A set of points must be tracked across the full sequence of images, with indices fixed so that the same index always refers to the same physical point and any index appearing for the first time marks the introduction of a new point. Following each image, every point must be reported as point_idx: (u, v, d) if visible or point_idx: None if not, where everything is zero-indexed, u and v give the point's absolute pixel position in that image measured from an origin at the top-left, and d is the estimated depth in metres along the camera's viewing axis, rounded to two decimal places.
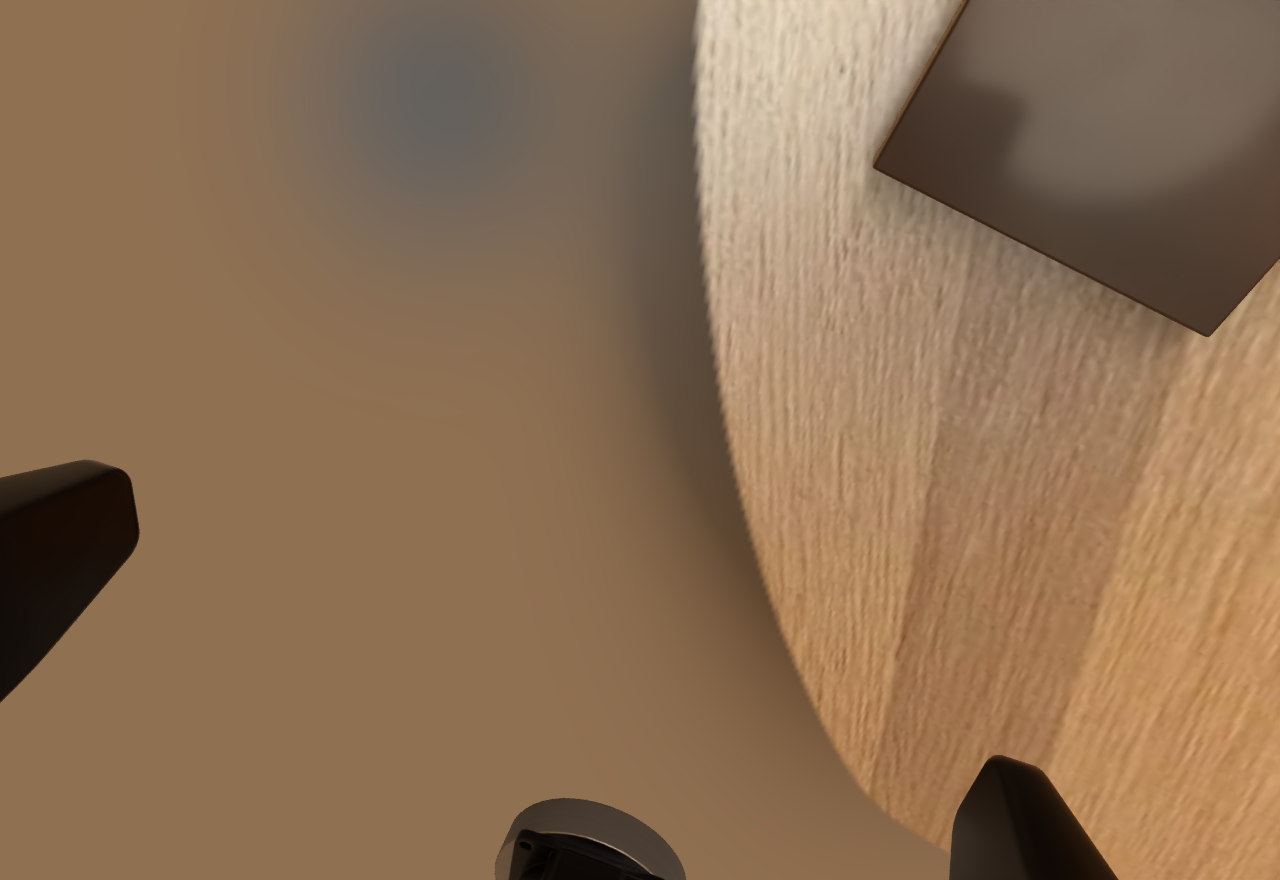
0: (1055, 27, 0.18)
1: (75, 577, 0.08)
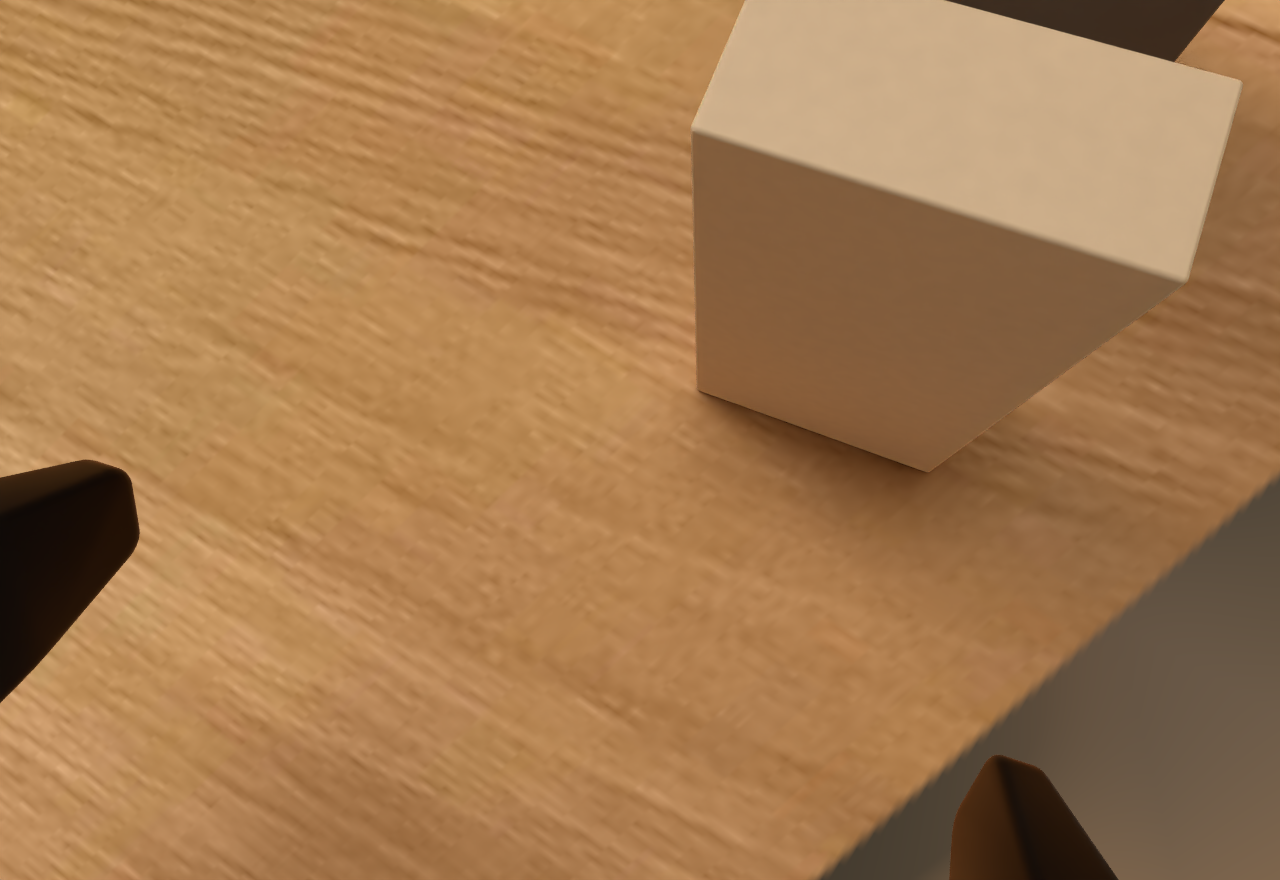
0: None
1: (75, 577, 0.08)
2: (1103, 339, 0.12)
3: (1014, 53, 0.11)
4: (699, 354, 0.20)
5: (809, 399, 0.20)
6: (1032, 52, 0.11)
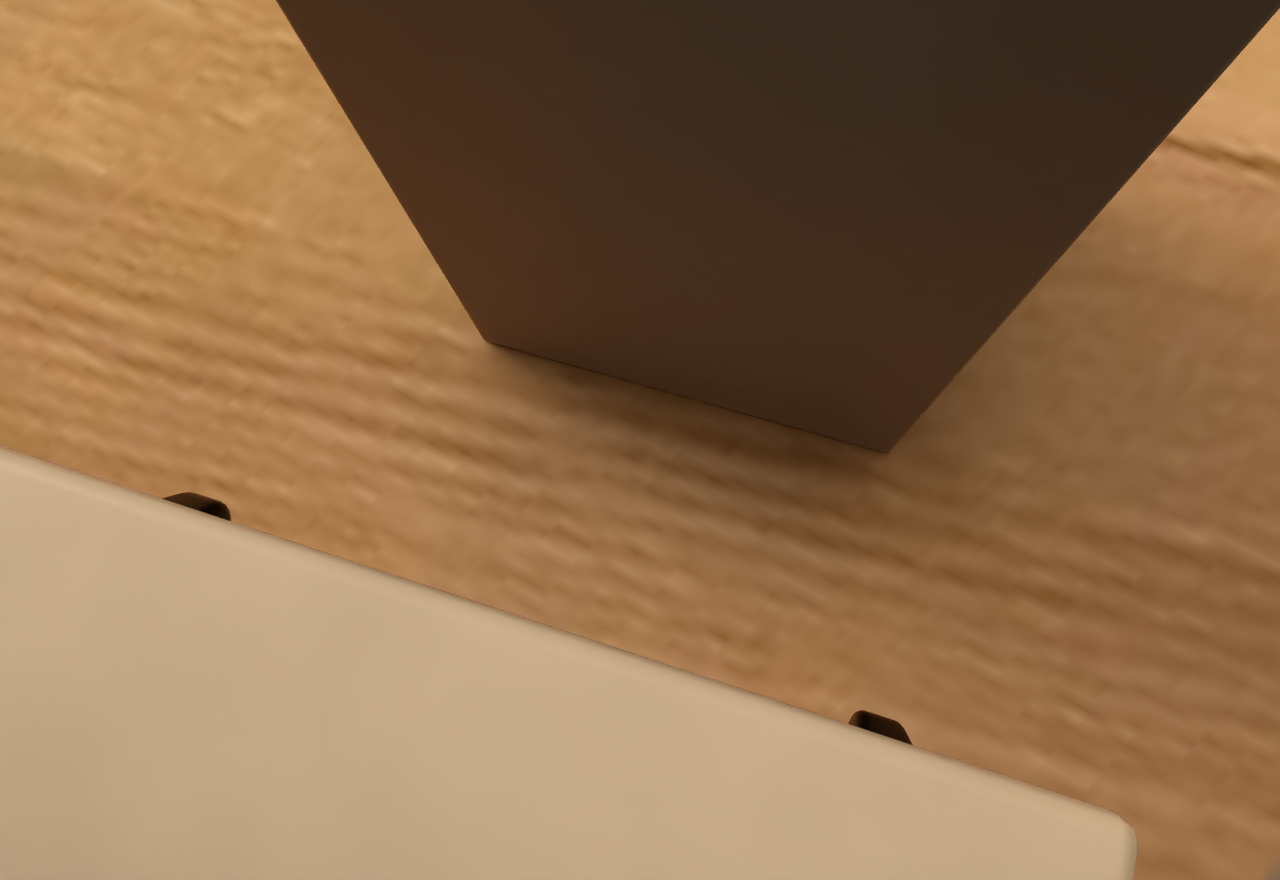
0: None
1: None
2: None
3: (283, 714, 0.03)
4: None
5: None
6: (345, 711, 0.03)
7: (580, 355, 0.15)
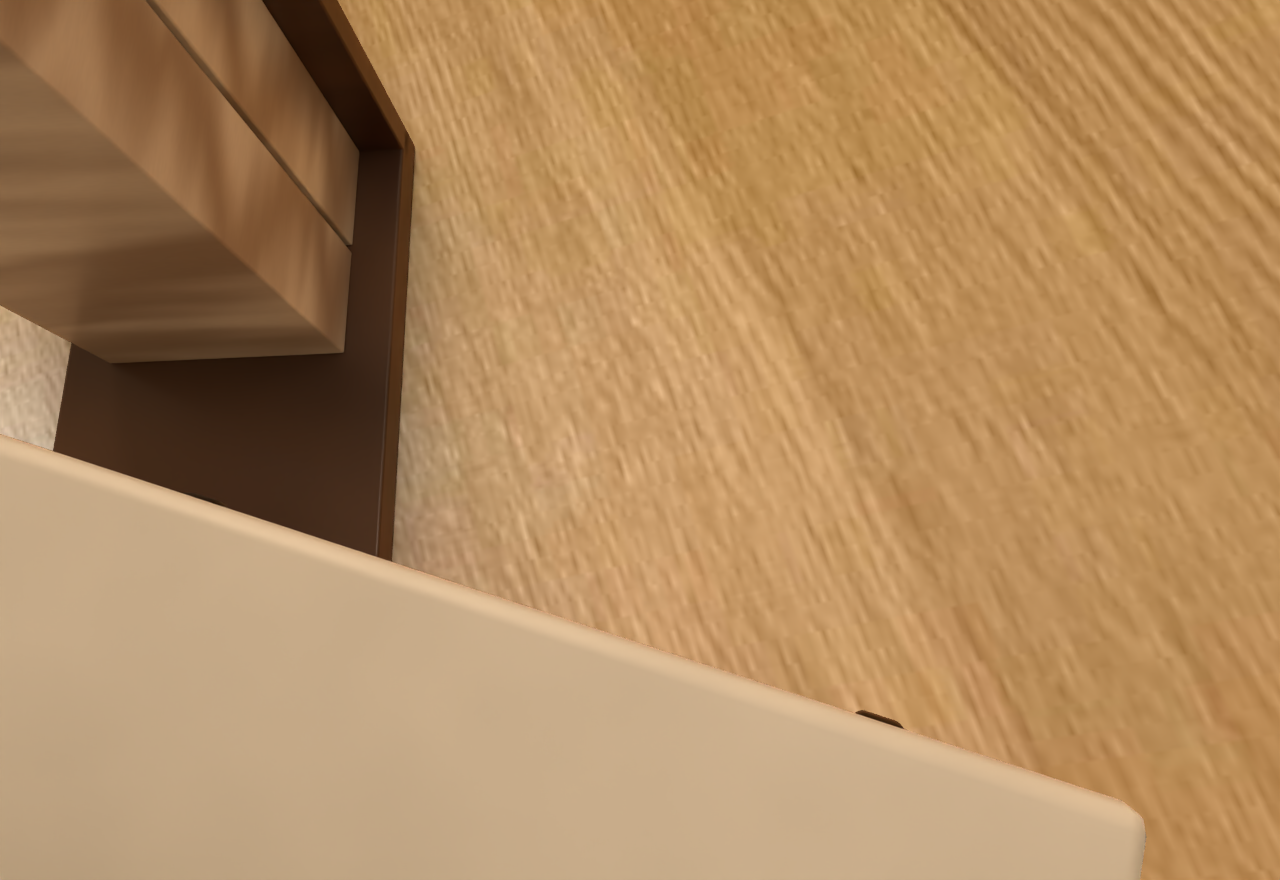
0: None
1: None
2: None
3: (292, 702, 0.03)
4: None
5: None
6: (355, 698, 0.03)
7: None
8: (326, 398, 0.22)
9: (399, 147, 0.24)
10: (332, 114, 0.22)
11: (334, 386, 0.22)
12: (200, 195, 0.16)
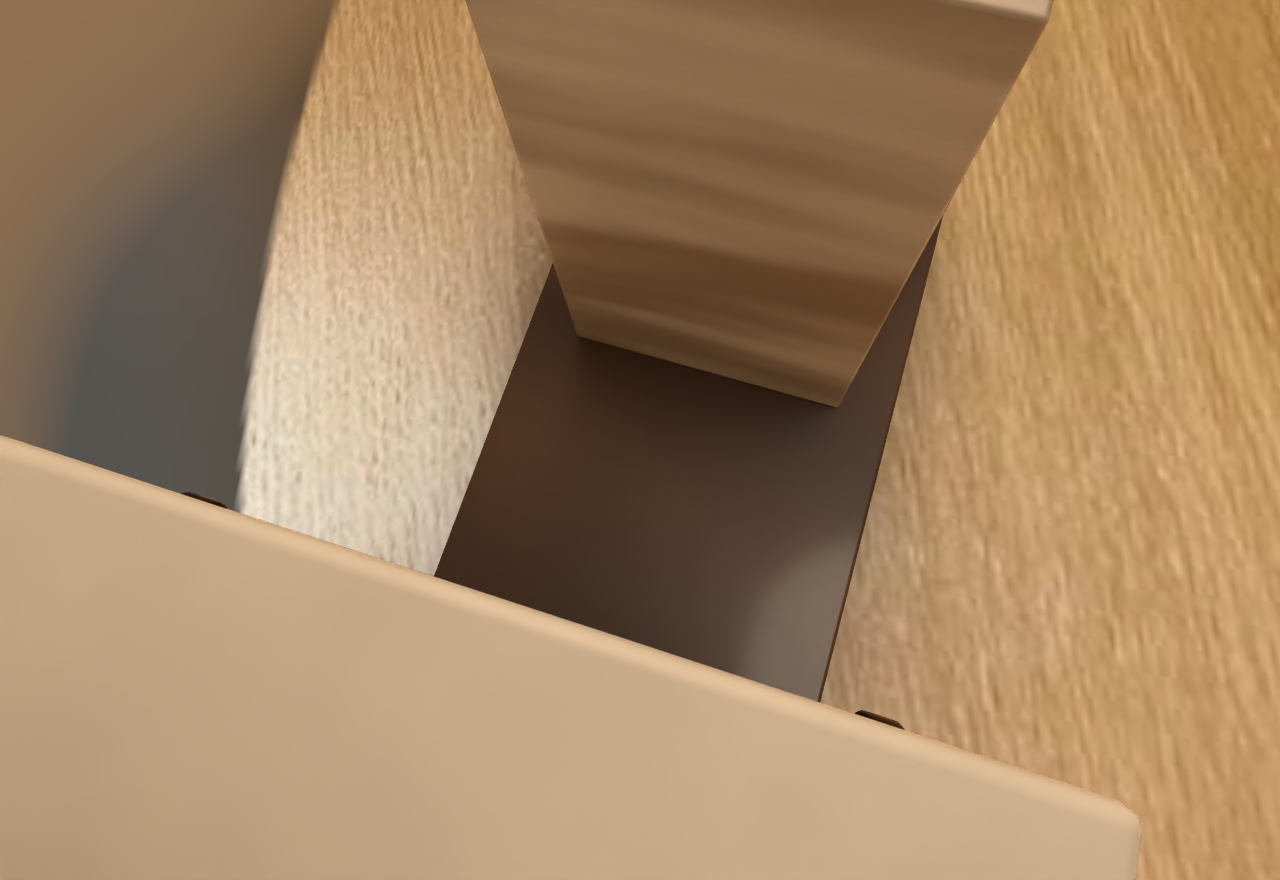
0: (551, 491, 0.19)
1: None
2: None
3: (286, 701, 0.03)
4: None
5: None
6: (351, 696, 0.03)
7: None
8: (807, 453, 0.19)
9: None
10: None
11: (819, 442, 0.19)
12: None
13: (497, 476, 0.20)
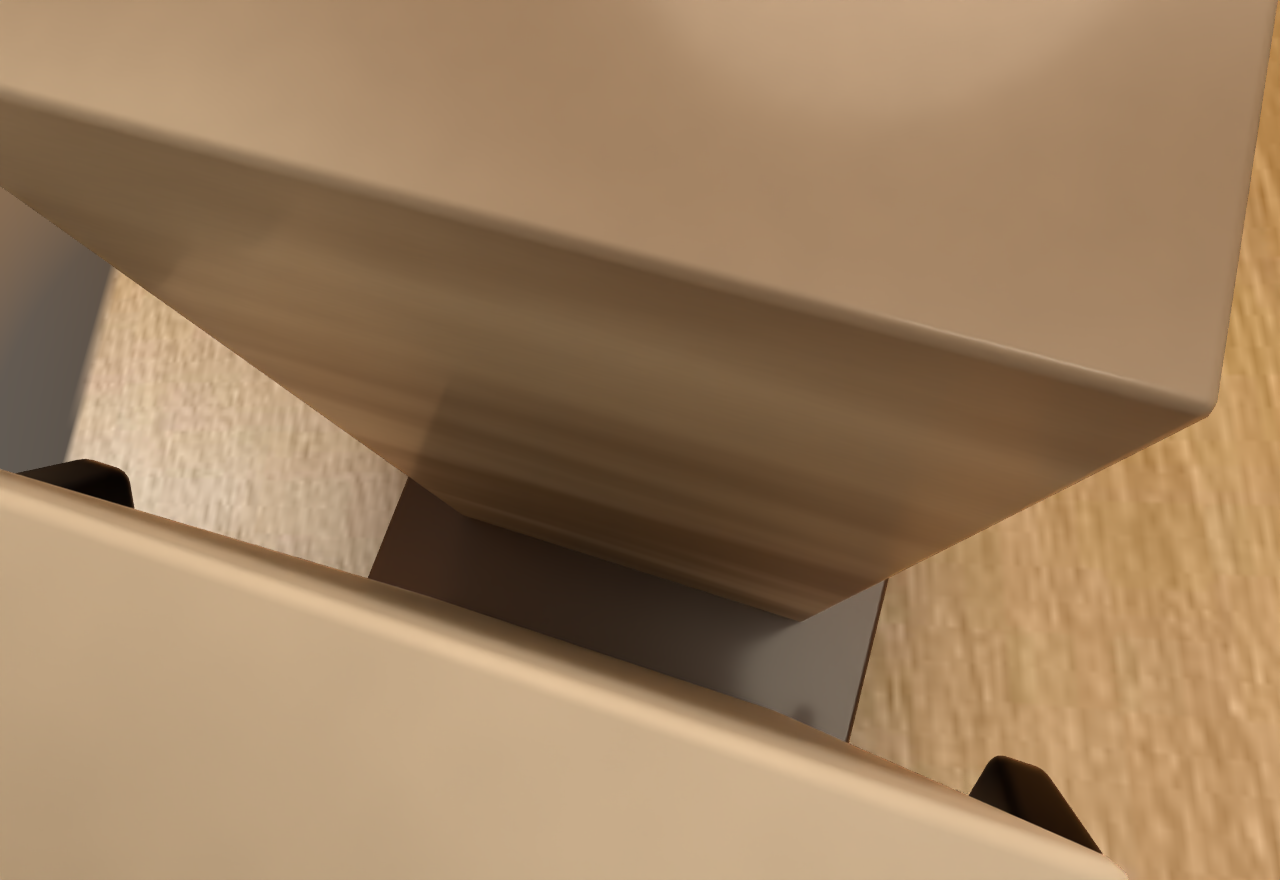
0: None
1: None
2: None
3: (280, 756, 0.03)
4: None
5: None
6: (345, 752, 0.03)
7: None
8: (761, 687, 0.14)
9: None
10: None
11: (776, 671, 0.14)
12: None
13: None
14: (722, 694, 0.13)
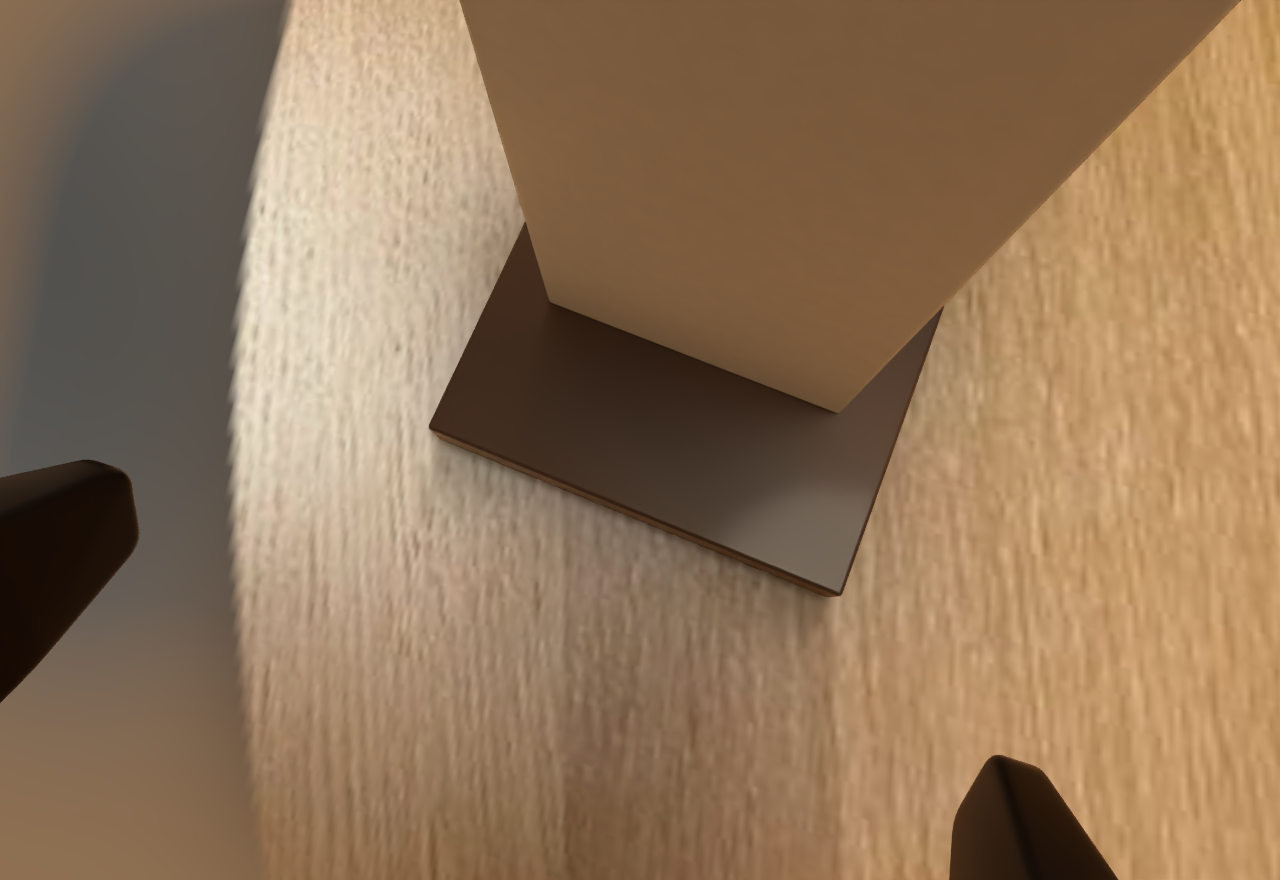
0: None
1: (75, 577, 0.08)
2: (1089, 145, 0.07)
3: None
4: (535, 241, 0.15)
5: (681, 306, 0.15)
6: None
7: None
8: None
9: None
10: None
11: None
12: None
13: (534, 263, 0.18)
14: None
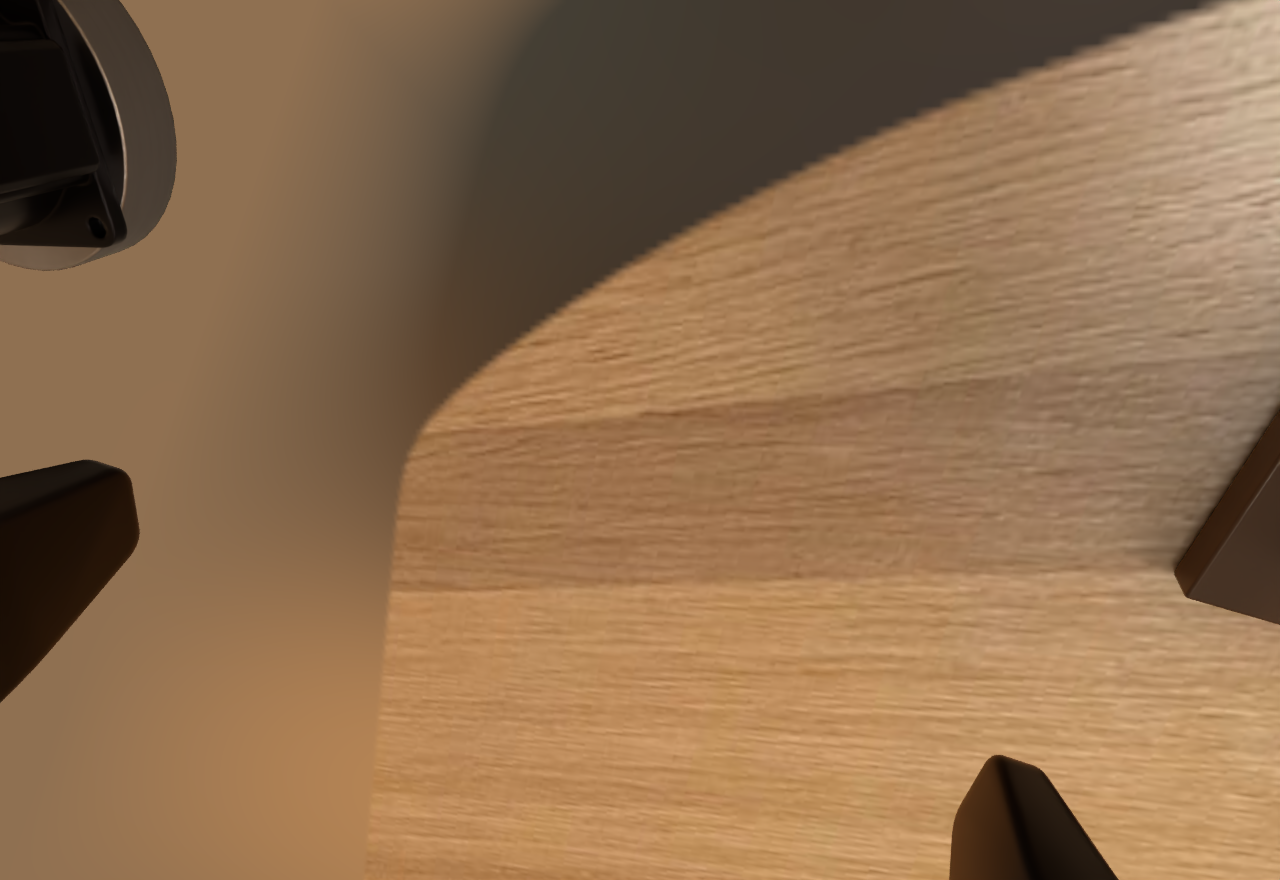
0: None
1: (75, 577, 0.08)
2: None
3: None
4: None
5: None
6: None
7: None
8: None
9: None
10: None
11: None
12: None
13: None
14: None
